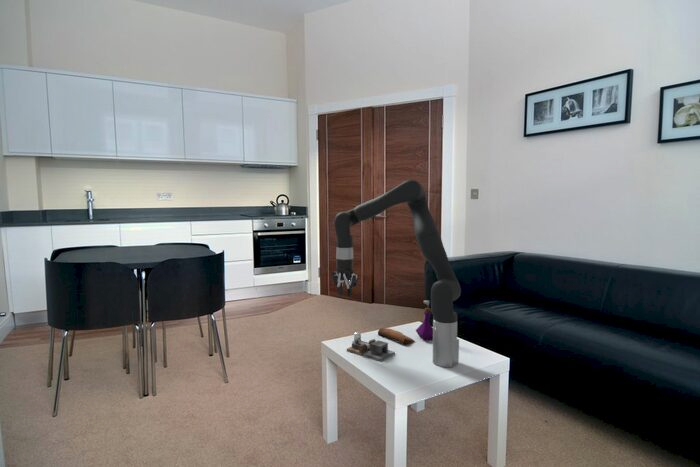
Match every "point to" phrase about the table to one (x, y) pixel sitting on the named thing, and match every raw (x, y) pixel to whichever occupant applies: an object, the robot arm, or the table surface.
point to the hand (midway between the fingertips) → (344, 295)
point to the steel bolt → (359, 340)
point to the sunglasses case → (395, 336)
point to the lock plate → (372, 350)
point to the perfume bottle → (425, 325)
